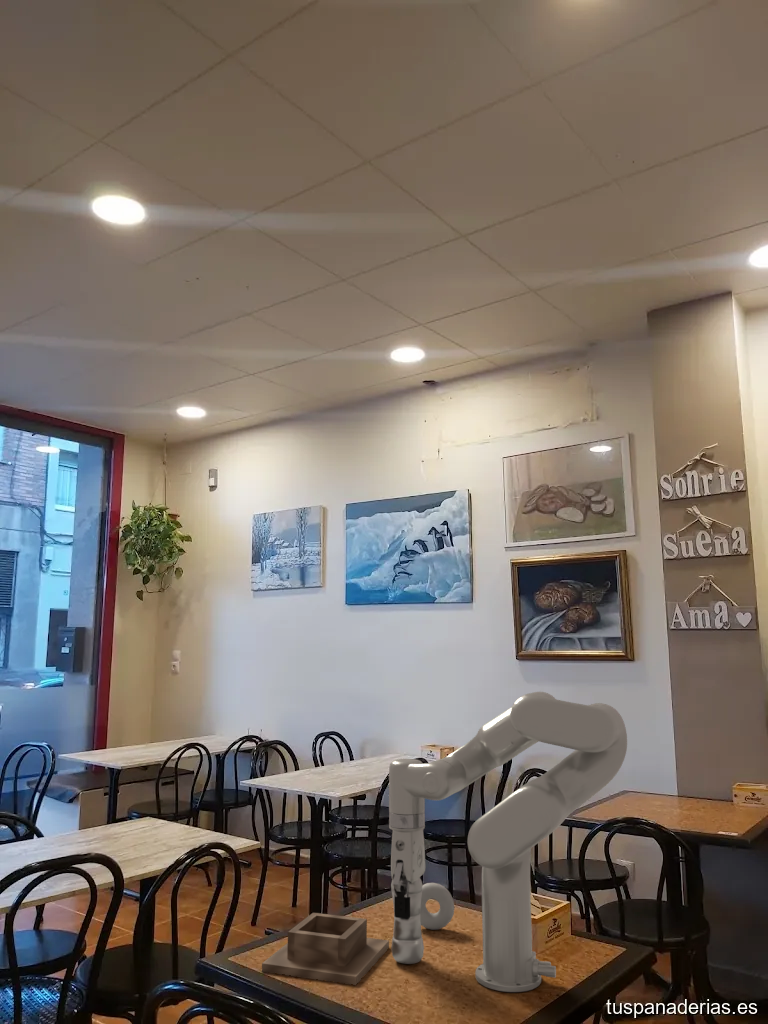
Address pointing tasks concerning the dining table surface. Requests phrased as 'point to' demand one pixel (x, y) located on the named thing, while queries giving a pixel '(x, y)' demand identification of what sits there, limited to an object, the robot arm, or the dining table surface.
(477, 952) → the dining table surface
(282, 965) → the bottle stand
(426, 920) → the donut
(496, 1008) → the dining table surface
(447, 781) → the robot arm
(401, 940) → the plastic bottle
